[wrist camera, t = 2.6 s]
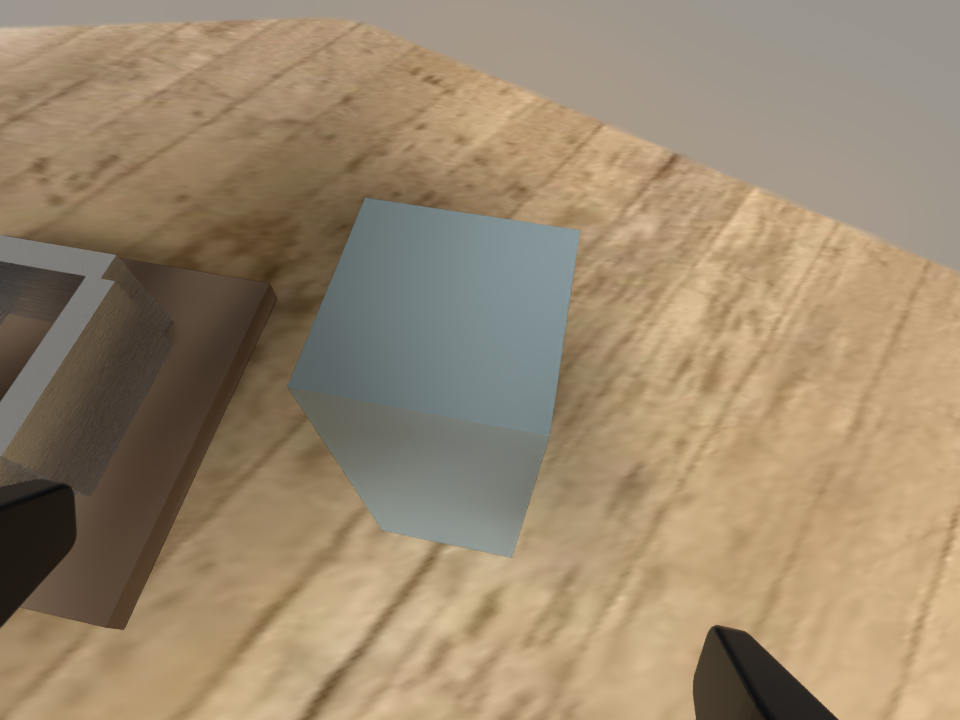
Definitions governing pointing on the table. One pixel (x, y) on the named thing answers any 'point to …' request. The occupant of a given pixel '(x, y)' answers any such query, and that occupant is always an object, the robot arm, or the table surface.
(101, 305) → the docking socket
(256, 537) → the table surface
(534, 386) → the light blue pillar
